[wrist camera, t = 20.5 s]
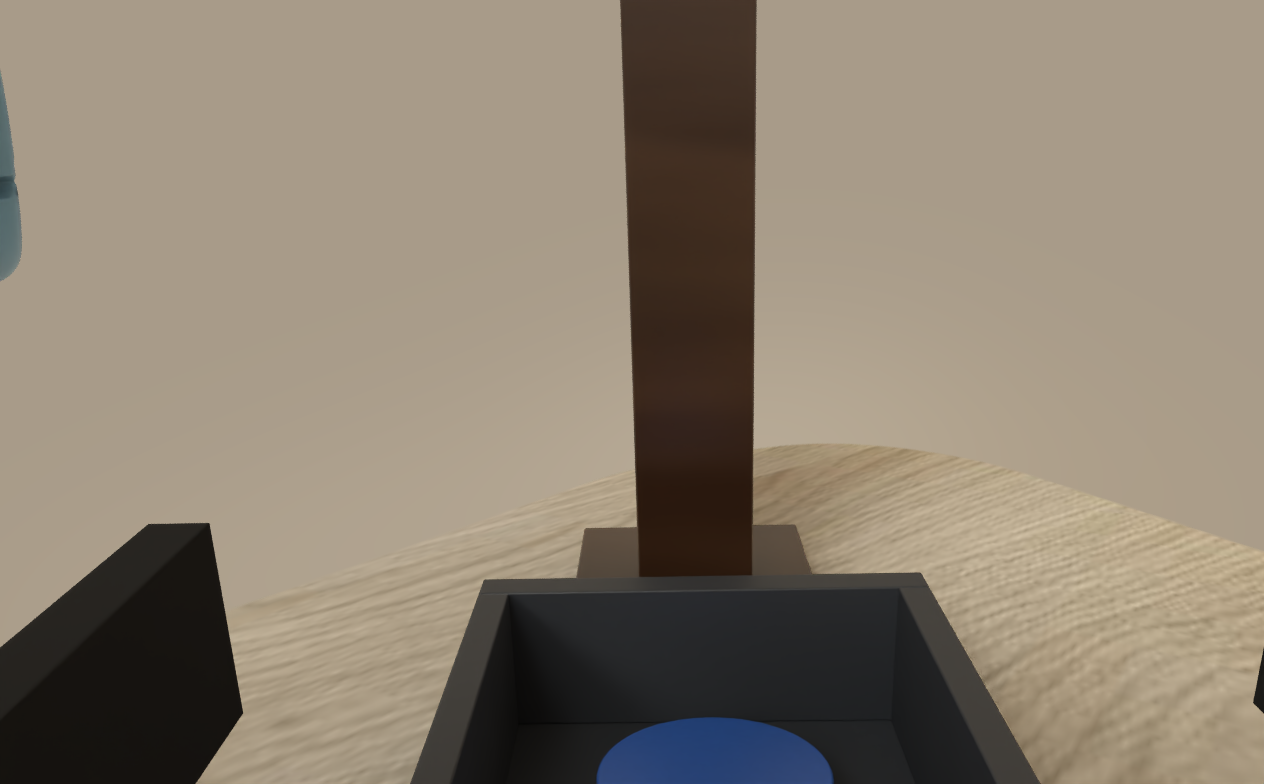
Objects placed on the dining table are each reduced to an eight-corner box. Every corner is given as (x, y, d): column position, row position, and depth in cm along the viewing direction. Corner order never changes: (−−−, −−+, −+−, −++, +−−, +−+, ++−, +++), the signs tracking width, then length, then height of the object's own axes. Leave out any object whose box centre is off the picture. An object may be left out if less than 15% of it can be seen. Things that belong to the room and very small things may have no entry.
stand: (586, 562, 36) (537, -408, 27) (795, 559, 36) (816, -422, 27) (567, 686, 28) (490, -610, 19) (833, 682, 28) (880, -633, 19)
